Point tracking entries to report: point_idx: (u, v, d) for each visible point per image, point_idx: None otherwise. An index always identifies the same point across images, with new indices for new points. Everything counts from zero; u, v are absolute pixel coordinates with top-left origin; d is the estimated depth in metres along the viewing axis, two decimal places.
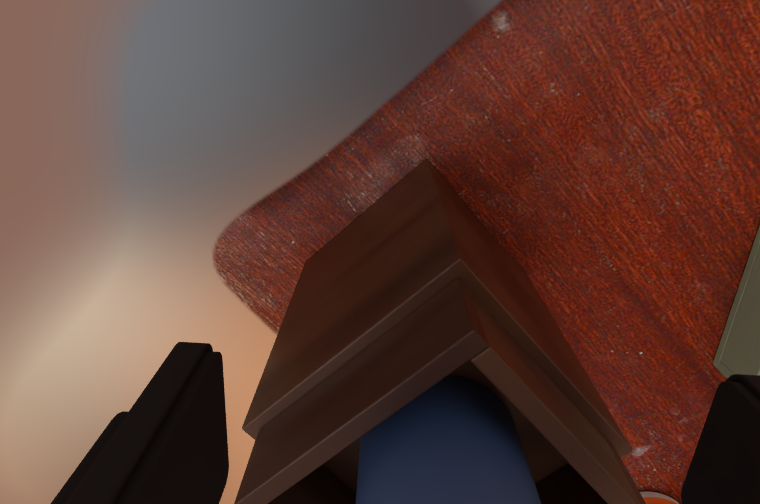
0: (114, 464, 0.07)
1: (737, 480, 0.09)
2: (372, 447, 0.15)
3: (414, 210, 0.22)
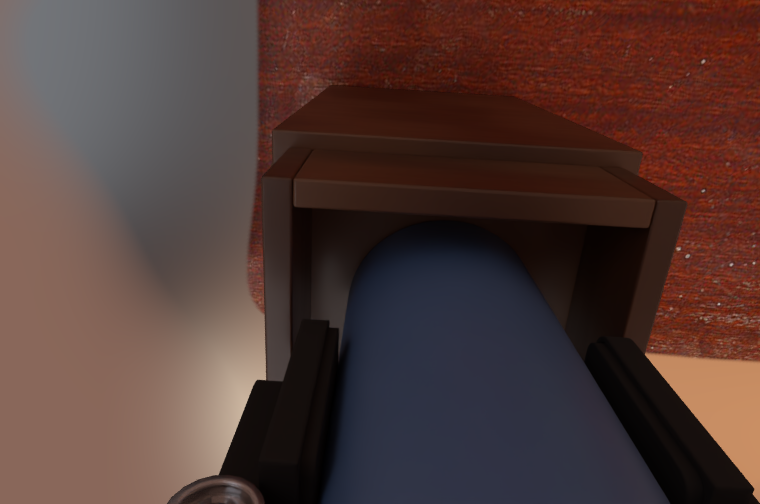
0: (291, 416, 0.08)
1: None
2: None
3: None
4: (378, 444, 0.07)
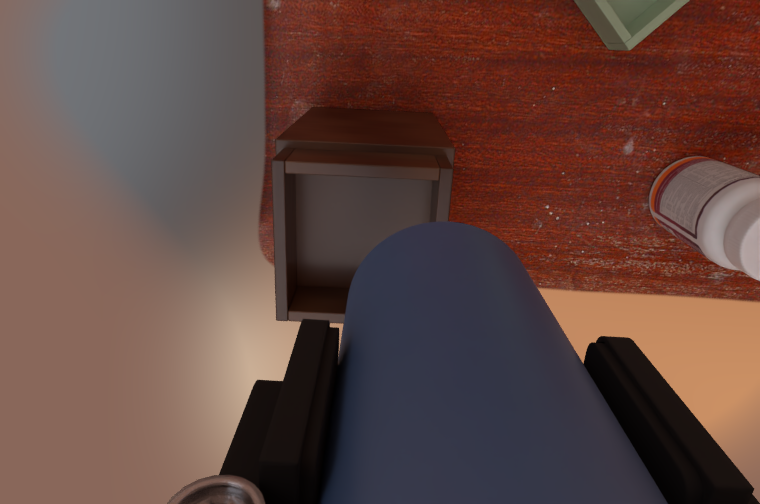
0: (291, 416, 0.08)
1: None
2: None
3: None
4: (377, 445, 0.07)
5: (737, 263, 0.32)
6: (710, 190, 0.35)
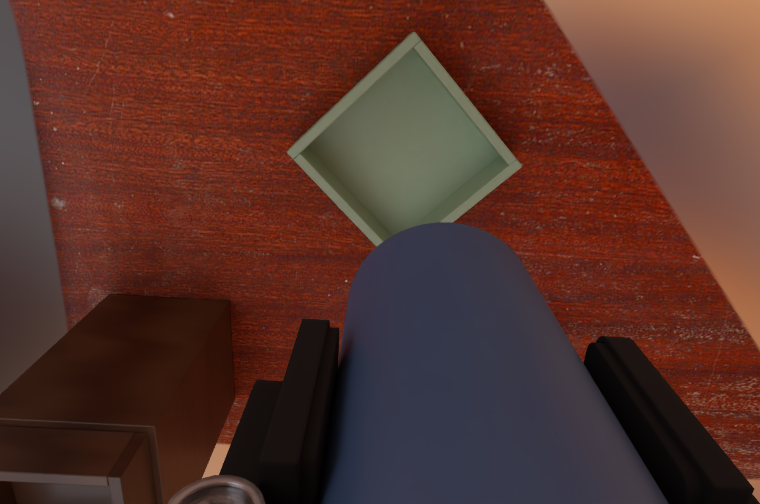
0: (291, 416, 0.08)
1: None
2: None
3: None
4: (379, 448, 0.07)
5: None
6: None
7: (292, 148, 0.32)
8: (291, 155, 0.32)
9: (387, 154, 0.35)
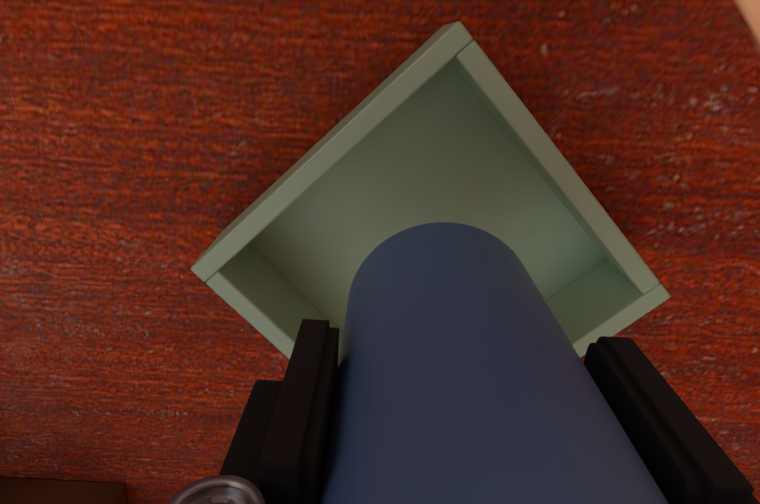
0: (291, 416, 0.08)
1: None
2: None
3: None
4: (378, 447, 0.07)
5: None
6: None
7: (201, 262, 0.16)
8: (200, 275, 0.16)
9: None
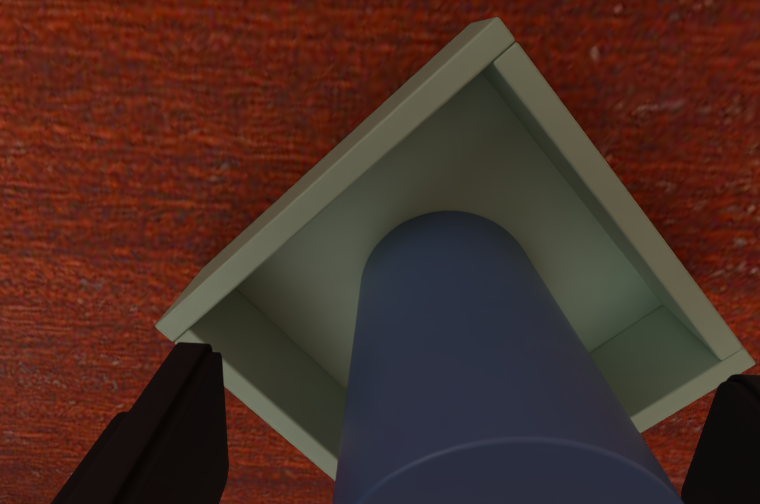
0: (114, 464, 0.07)
1: (737, 480, 0.09)
2: None
3: None
4: (395, 396, 0.08)
5: None
6: None
7: (168, 318, 0.13)
8: (167, 334, 0.13)
9: None
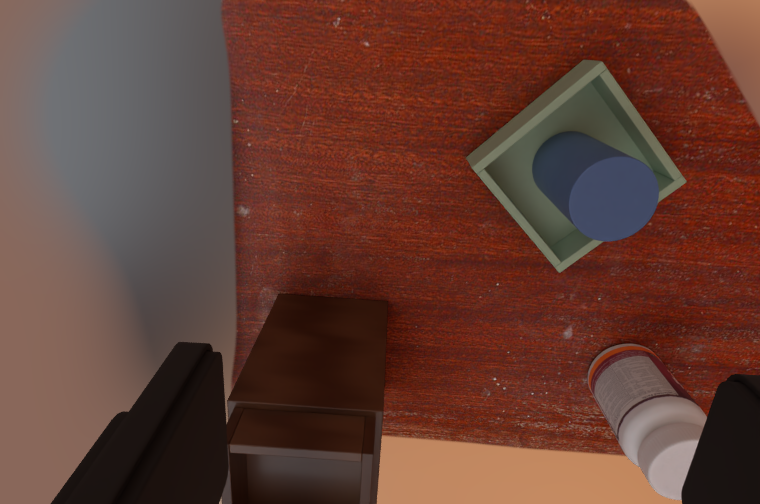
0: (114, 464, 0.07)
1: (737, 480, 0.09)
2: (538, 178, 0.37)
3: None
4: (582, 160, 0.31)
5: None
6: (631, 400, 0.38)
7: (477, 164, 0.35)
8: (476, 170, 0.36)
9: None
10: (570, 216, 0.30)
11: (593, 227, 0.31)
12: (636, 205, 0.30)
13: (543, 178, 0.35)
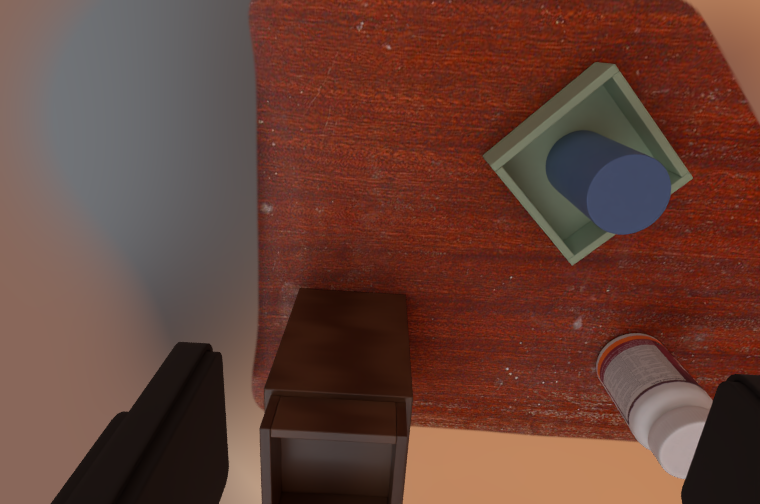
0: (114, 464, 0.07)
1: (737, 480, 0.09)
2: (552, 175, 0.38)
3: None
4: (598, 157, 0.32)
5: (658, 461, 0.38)
6: (640, 386, 0.40)
7: (496, 162, 0.37)
8: (494, 168, 0.37)
9: None
10: (588, 211, 0.32)
11: (609, 221, 0.32)
12: (650, 200, 0.32)
13: (558, 175, 0.37)
